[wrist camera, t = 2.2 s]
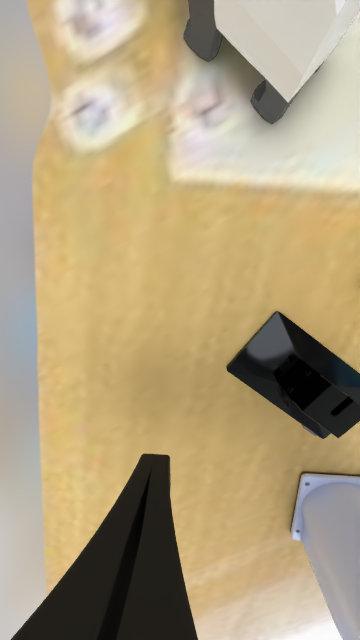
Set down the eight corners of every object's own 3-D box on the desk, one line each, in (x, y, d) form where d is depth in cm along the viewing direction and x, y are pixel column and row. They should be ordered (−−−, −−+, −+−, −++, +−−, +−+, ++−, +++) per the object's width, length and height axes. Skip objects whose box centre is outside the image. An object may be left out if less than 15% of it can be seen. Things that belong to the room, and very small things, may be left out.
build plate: (377, 388, 18) (440, 427, 13) (318, 437, 19) (356, 487, 15) (276, 310, 17) (308, 324, 12) (223, 369, 18) (233, 401, 14)
